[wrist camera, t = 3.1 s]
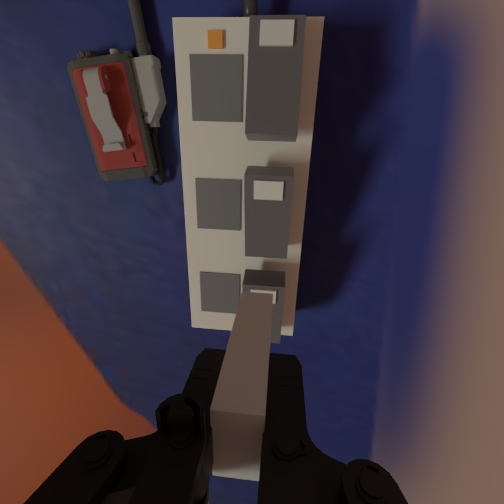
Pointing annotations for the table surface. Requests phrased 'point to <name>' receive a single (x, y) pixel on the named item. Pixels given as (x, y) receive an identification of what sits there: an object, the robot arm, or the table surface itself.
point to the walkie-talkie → (122, 106)
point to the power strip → (233, 161)
